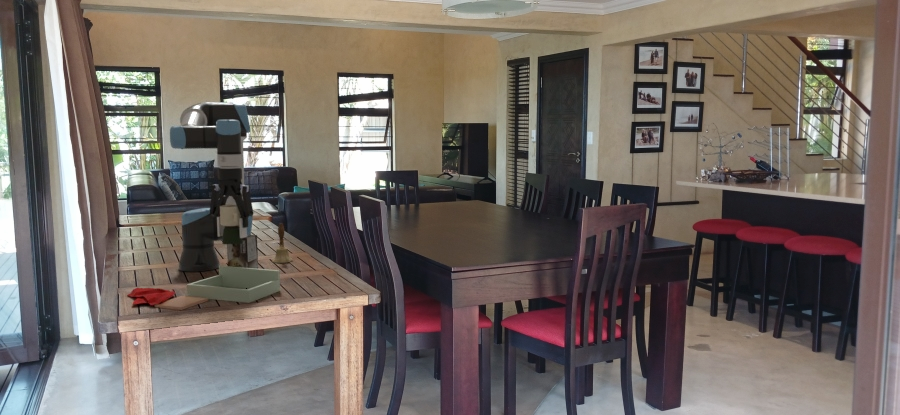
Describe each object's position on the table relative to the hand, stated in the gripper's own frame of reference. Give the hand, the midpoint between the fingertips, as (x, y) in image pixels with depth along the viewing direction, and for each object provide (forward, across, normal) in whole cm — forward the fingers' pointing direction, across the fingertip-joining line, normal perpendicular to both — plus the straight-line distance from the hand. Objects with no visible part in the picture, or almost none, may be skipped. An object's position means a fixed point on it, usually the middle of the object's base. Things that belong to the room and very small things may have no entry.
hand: (232, 236), depth 221 cm
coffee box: (+19, -11, +19) cm, 30 cm away
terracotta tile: (+19, -7, -17) cm, 26 cm away
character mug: (+3, 0, 0) cm, 3 cm away
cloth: (+19, -21, -14) cm, 32 cm away
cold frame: (+19, 0, 0) cm, 19 cm away
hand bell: (+20, -17, +54) cm, 60 cm away
